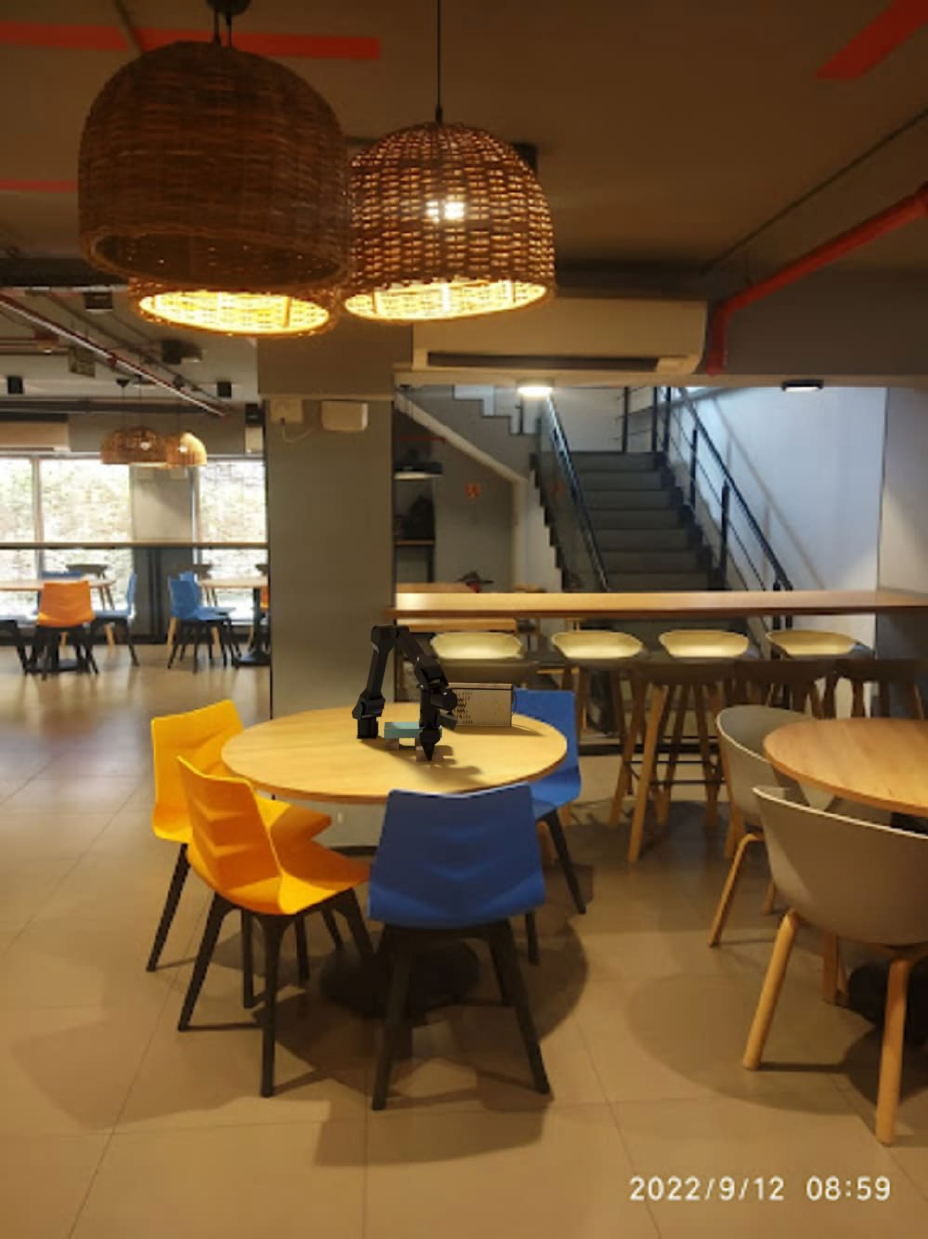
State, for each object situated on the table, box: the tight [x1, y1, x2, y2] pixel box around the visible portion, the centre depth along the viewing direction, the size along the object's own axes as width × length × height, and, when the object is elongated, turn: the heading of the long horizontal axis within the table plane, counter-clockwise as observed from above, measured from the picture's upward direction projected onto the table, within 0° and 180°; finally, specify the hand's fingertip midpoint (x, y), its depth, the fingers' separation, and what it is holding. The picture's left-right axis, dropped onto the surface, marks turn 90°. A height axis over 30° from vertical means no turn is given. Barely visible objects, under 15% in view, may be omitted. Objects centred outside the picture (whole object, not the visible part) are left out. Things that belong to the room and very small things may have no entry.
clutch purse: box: [440, 682, 518, 727], centre depth 309 cm, size 30×7×15 cm, turn 85°
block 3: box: [415, 745, 444, 763], centre depth 267 cm, size 8×4×4 cm, turn 93°
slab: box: [383, 721, 443, 740], centre depth 281 cm, size 18×9×3 cm, turn 93°
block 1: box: [385, 738, 400, 751], centre depth 281 cm, size 4×8×4 cm, turn 3°
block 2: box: [414, 738, 422, 751], centre depth 282 cm, size 4×8×4 cm, turn 3°
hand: (429, 756), depth 267 cm, fingers open, 9 cm apart
